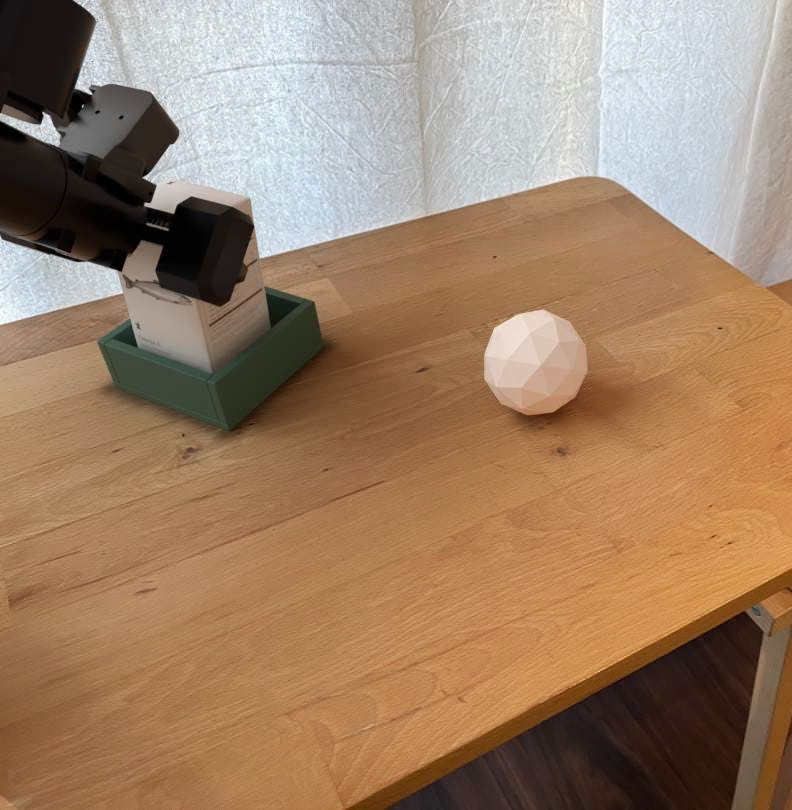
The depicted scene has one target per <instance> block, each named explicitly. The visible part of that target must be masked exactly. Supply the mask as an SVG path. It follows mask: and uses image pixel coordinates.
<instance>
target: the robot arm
mask: <svg viewBox="0 0 792 810" xmlns="http://www.w3.org/2000/svg"><path fill="white" fill-rule="evenodd" d="M97 22H98V21H97V20H96V18H95V16H94V15H93V14H92V13H91V12H90V11H89V10H87V9H86V8H85V7H83V5H81V4H80V3H78V2H77V1H75V0H0V115H1V114H2V115H5V116H6V117H7V116H8V117H9V118H12V119H16V120H19V121H22V122H24V123H28V124H31V125H37V126H40V125H42V123H43V120H44V118H45V115H48V116H49V117H50V120H51V123H52V125H53V127H54V129H55V131H56V132H57V133H58V134H59V135H60V136H59V145H58V146H57V145H54V144H52V143H50V142H45V141H43V140H41V139H39V138H37V137H35V136H33V135H31V134H28V133H27V132H25V131H23V130H21V129H18V128H16V127H14V126H13V125H10V124H9V123H7V122H4V121H2V120H0V238H1V240H2V241H4V242H8V243H11V244H13V245H16V246H19V247H22V248H26V249H28V250H31V251H35V252H38V253H41V254H44V255H47V256H54V257H58V258H60V259H64V260H67V261H70V262H74V263H90V264H93V265H97V266H99V267H103V268H107V269H109V270H113V271H116V272H117V271H120V272H122V270H123V267H124V264H125V261H126V258H127V257H131V256H132V254H133V252H134V251H135V250H136V249H137V247H138V246H139V244H140V242H141V241H142V242H145V243H149V244H152V245H156V246H159V247H163V248H162V251H161V254H160V257H159V260H158V263H157V266H156V269H155V272H156V275H157V278H158V281H159V284H160V287H161V288H162V289H165V290H168V291H171V292H174V293H177V294H180V295H183V296H186V297H189V298H192V299H195V300H199V301H202V302H205V303H209V304H212V305H215V306H218V307H221V306H223V305H225V304H226V303H228V302H229V301H230V300H231V297H232V293H233V290H234V287H235V284H238V283H241V282H244V280H245V278H246V275H247V272H248V268H247V266H246V265H245V264H244V263H243V260H244V257H245V254H246V251H247V248H248V245H249V242H250V239H251V236H252V233H253V230H254V227H255V228H256V226H255V222H254V223H253V221H252V219H251V216H249V215H247V214H245V213H243V212H242V211H240V210H238V209H236V208H234V207H232V206H228V205H224V204H220V203H216V202H212V201H209V200H205V199H201V198H197V197H193V196H191V197H189V198H187V199H186V200H184V201H182V202H181V203H179V204H177V206H176V209H175V212H174V214H173V213H169V212H165V211H161V210H158V209H154V208H150V207H146V206H144V205H145V202H146V203H151V202H152V199H153V196H154V193H155V190H156V187H157V185H156V184H157V183H156V184H155V182H154V183H153V182H152V181H150V180H147V179H146V178H145V177H147V176H148V175H149V174H150V173H151V172H152V171H153V170H154V168H155V167H156V165H157V164H158V163H159V161H160V160H161V158H162V157H163V156H164V154H165V153H166V151H167V150H168V148H169V147H170V146H171V145H175V143H176V142H177V141H178V139H179V137H180V129H179V127H178V126H177V125H176V123H175V122H174V120H173V119H172V118H171V116H170V115H169V114H168V112H167V111H166V110H165V109H164V107H163V106H162V105H161V103H160V102H159V100H158V99H157V98H156V96H155V95H154V94H153V93H152V92H151V91H148V90H144V89H140V88H136V87H131V86H127V85H126V86H125V85H122V84H116V83H107V84H103V85H102V86H101V85H96V84H90V86H89V87H88V90H89V91H90V93H88V92H86V91H83V90H81V89H78V88H76V86H77V82H78V79H79V77H80V75H81V74H80V73H81V72H82V68H83V65H84V62H85V59H86V56H87V53H88V49H89V47H90V43H91V40H92V39H93V38H92V37H93V34H94V31H95V28H96V26H97ZM44 114H45V115H44ZM147 223H149V224H153V225H157V226H161V227H163V228H164V227H165V228H167V229H169V230H168V231H166V230H163V229H159V228H156V227H152V226H148V225H147Z"/></svg>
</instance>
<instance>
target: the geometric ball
mask: <svg viewBox="0 0 792 810" xmlns="http://www.w3.org/2000/svg"><path fill="white" fill-rule="evenodd" d="M587 357H588V355H587V346H586V344H585V343H584V341H583V339H582V338H581V336H580V334H578V332H577V330H576V329H575V327H574V326H573V324H572V322H571V321H570V320H567V319H565V318H563V317H561V316H558V315H557V314H554V313H552V312H550V311H548V310H545V309H539V310H533V311H528V312H523V313H517V314H516V315H514V316H512V317H511V318H509V319H507V320H505V321H504V322H502V323H500V324H499V325H497V326H495V327H494V328H493V330H492V333H491V336H490V338H489V341H488V344H487V346H486V349H485V351H484V354H483V371H484V373H483V374H484V375H483V376H484V381H485V383H486V384H487V386H488V387H489V388H490V390H491V391H492V393H493V394H494V396H495V397H496V399H497V400H498V402H499V403H500V405H503V406H505V407H507V408H510V409H512V410H514V411H516V412H518V413H521V414H522V415H525V416H535V415H543V414H550V413H551V414H552V413H554V412H556V411H557V410H558V409H561V408H562V407H563V406H564V405H566V404H567V403H569V402H571V401H572V400H573V399H575V398H576V397H577V396H578V395H577V394H578V393H579V390H580V388H581V387H582V384H583V382H584V380H585V378H586V376H587V373H588V371H589V370H588V369H589V368H588V358H587Z"/></svg>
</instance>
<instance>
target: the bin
mask: <svg viewBox="0 0 792 810" xmlns="http://www.w3.org/2000/svg"><path fill="white" fill-rule="evenodd" d="M264 288H265V294H266V300H267V306H268V313H269V320H270V326H271V329H270V330H269V331H267V332H266V333H265V334H264V335H262V336H261V337H260V338H259V339H257V340H256V341H255V342H254V343H253V344H251V345H250V346H249V347H248V348H246V349H245V350H244V351H243V352H241V353H240V354H239V355H238V356H237V357H235V358H234V359H233V360H232V361H230V362H229V363H228V364H227V365H226V366H224V367H223V368H222V369H221V370H219V371H218V372H217V373H216V374H214V375H212V374H210V373H207V372H204V371H201V370H198V369H196V368H193V367H190V366H187V365H184V364H182V363H179V362H176V361H173V360H170V359H168V358H165V357H162V356H159V355H156V354H154V353H151V352H148V351H145V350H142V349H140V348H138V345H137V341H136V338H135V334H134V331H133V327H132V323H131V319H130V318H128V319H127V320H125V321H124V322H122V323H121V324H120V325H118V326H116V327H115V328H114V329H112V330H111V331H109V332H108V333H106V334H105V335H103V336H102V337H100V338H99V339H98V340H97V341H96V343H97V345H98V348H99V350H100V353H101V355H102V357H103V360H104V362H105V363H104V364H105V365H106V367H107V369H108V370H107V371H108V372H109V374H110V377H111V379H112V382H113V384H114V387H115V388H116V389H118V390H120V391H124V392H126V393H129V394H131V395H134V396H136V397H139V398H142V399H145V400H147V401H150V402H152V403H155V404H158V405H161V406H163V407H165V408H167V409H171V410H174V411H176V412H178V413H181V414H184V415H187V416H189V417H192V418H194V419H197V420H200V421H202V422H204V423H207V424H210V425H213V426H215V427H218V428H220V429H222V430H223V429H224V430H226V431H228V432H230V431H232V430H233V429H234V428H235V427H236V426H237V425H238V424H240V422H242V420H244V419H245V418H247V416H249V415H250V414H251V413H252V412H253V411H254V410H255V409H256V408H257V407H259V405H261V404H262V403H263V402H264V401H265V400H266V399H267V398H269V396H271V395H272V394H273V393H274V392H275V391H276V390H277V389H279V388H280V387H281V386H282V385H283V384H285V382H286V381H288V380H289V379H290V378H291V377H292V376H293V375H294V374H295V373H296V372H297V371H299V370H300V369H301V368H302V367H303V366H304V365H305V364H307V363H308V362H309V361H310V360H311V359H313V357H314V356H316V355H317V354H318V353H319V352H320V351H321V350H322V349H323V348H324V347H325V345H324V341H323V336H322V332H321V326H320V322H319V316H318V312H317V306H316V303H315V301H314V300H311V299H307V298H306V297H302V296H298V295H295V294H291V293H288V292H285V291H283V290H278V289H275V288H273V287H268V286H266V285H264Z"/></svg>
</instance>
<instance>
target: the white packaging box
mask: <svg viewBox="0 0 792 810" xmlns="http://www.w3.org/2000/svg"><path fill="white" fill-rule="evenodd" d="M156 185H157V187H156V190H155V193H154V196H153V199H152V202H151V203H146V202H145V205H144V206H146V207H150V208H154V209H158V210H161V211H165V212H169V213H173V214H174V212H175V209H176V206H177V204H179V203H181V202H182V201H184V200H186V199H187V198H189V197H191V196H193V197H197V198H201V199H205V200H209V201H212V202H216V203H220V204H224V205H228V206H232V207H234V208H236V209H238V210H240V211H242V212H243V213H245V214H247V215H249V216H251V219H252V221H253V223H254V224H255V220H254V213H253V207H252V199H251V198H250V197H249V196H246V195H242V194H237V193H234V192H230V191H225V190H221V189H217V188H213V187H210V186H205V185H201V184H197V183H194V182H189V181H185V180H181V179H178V178H174V177H170V178H167V179H165V180H163V181H161V182H159V183H156ZM147 225H148V226H152V227H156V228H159V229H163V230H166V231H168V230H169V229H167V228H165V227H164V228H163V227H161V226H157V225H153V224H149V223H147ZM162 248H163V247H159V246H156V245H152V244H149V243H145V242H142V241H141V242H140V244H139V246H138V247H137V249H136V250H135V251H134V252H133V254H132V256H131V257H127V258H126V261H125V264H124V267H123V270H122V272H120V271H116V272H117V276H118V279H119V283H120V286H121V290H122V293H123V297H124V301H125V304H126V308H127V311H128V315H129V319H131V323H132V327H133V331H134V334H135V338H136V341H137V345H138V348H140V349H142V350H145V351H148V352H151V353H154V354H156V355H159V356H162V357H165V358H168V359H170V360H173V361H176V362H179V363H182V364H184V365H187V366H190V367H193V368H196V369H198V370H201V371H204V372H207V373H210V374H212V375H214V374H216V373H217V372H218V371H219V370H221V369H222V368H223V367H224V366H226V365H227V364H228V363H229V362H230V361H232V360H233V359H234V358H235V357H237V356H238V355H239V354H240V353H241V352H243V351H244V350H245V349H246V348H248V347H249V346H250V345H251V344H253V343H254V342H255V341H256V340H257V339H259V338H260V337H261V336H262V335H264V334H265V333H266V332H267V331H269V330H270V329H271V326H270V320H269V313H268V306H267V300H266V294H265V288H264V286H265V282H264V276H263V270H262V263H261V257H260V251H259V250H260V249H259V246H258V237H257V233H256V226H255V227H254V230H253V233H252V236H251V239H250V242H249V245H248V248H247V251H246V254H245V257H244V260H243V263H244V264H245V265H246V266H247V268H248V272H247V275H246V278H245V280H244V282H241V283H238V284H235V287H234V290H233V293H232V297H231V300H230V301H229V302H228V303H226V304H225V305H223V306H221V307H218V306H215V305H212V304H209V303H205V302H202V301H199V300H195V299H192V298H189V297H186V296H183V295H180V294H177V293H174V292H171V291H168V290H165V289H162V288H161V287H160V284H159V281H158V278H157V275H156V272H155V269H156V266H157V263H158V260H159V257H160V254H161V251H162Z"/></svg>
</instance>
